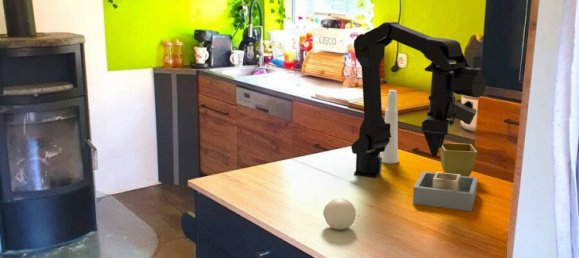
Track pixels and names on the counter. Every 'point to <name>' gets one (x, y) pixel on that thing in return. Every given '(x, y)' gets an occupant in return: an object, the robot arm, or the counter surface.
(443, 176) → the small crate
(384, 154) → the cosmetic bottle
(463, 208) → the big crate
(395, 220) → the counter surface
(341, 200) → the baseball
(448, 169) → the flower pot
